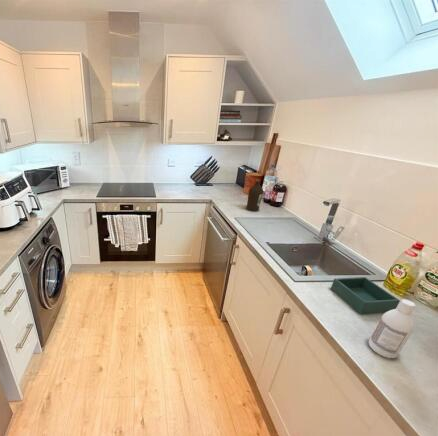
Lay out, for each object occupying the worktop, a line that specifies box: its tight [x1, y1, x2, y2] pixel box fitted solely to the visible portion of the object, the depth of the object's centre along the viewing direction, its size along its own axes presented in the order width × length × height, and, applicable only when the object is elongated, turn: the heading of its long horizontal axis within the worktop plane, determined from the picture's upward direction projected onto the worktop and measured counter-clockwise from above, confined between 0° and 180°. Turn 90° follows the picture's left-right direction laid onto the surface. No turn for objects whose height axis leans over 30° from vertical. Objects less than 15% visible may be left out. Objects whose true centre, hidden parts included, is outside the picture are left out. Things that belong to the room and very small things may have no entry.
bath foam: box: [368, 298, 416, 359], centre depth 74 cm, size 7×7×20 cm
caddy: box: [330, 276, 401, 315], centre depth 98 cm, size 15×15×6 cm
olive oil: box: [246, 178, 264, 212], centre depth 190 cm, size 11×11×25 cm
